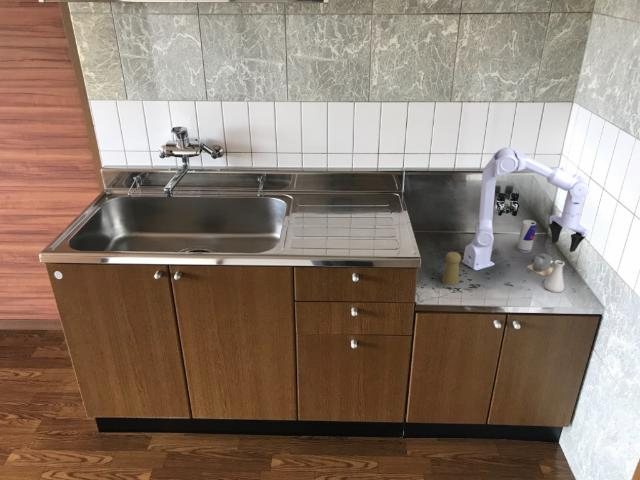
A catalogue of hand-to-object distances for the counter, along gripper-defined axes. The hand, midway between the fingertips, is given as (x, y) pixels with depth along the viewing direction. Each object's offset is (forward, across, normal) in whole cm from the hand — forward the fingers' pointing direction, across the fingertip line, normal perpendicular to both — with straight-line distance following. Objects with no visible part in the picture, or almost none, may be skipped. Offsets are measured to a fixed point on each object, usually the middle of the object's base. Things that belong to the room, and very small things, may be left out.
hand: (563, 246), depth 184 cm
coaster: (+10, +4, +4) cm, 12 cm away
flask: (+11, -7, +10) cm, 16 cm away
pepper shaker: (+11, +13, +39) cm, 42 cm away
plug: (+10, +4, +4) cm, 11 cm away
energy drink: (+11, +18, -2) cm, 21 cm away
